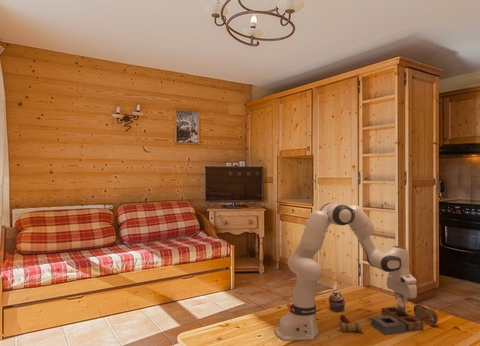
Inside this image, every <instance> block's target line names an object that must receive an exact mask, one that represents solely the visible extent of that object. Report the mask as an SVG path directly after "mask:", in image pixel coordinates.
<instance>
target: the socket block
mask: <svg viewBox="0 0 480 346" xmlns="http://www.w3.org/2000/svg"><path fill="white" fill-rule="evenodd" d="M370 325H371V326H372V327H373V328H375V329H376V330H378V331H379V332H381V333H382V334H383V335H395V334H401V333H406V332H407V331H406V324H404V323H403V322H401V321H399V320H398V319H396V318H394V317H393V316H391V315H387V316H382V315H380V316H372V317H370Z"/></svg>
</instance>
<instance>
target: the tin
mask: <svg viewBox="0 0 480 346" xmlns="http://www.w3.org/2000/svg"><path fill="white" fill-rule="evenodd" d="M413 314H414V317H415V318H417V319H418V320H420V321H422V322H423V324H426V325H428V326H434V325H437V324H438V319H439V318H438V314H437V312H436V311H435V310H434V309H432V308H431V307H428V306H426V305H425V304H421V303H420V304H415V305H414V307H413Z"/></svg>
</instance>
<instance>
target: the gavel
mask: <svg viewBox="0 0 480 346" xmlns="http://www.w3.org/2000/svg"><path fill="white" fill-rule="evenodd" d="M340 319H341V322H340V323H339V329H340V332H342V333H346V332H352V333H353V332H355V333H356V332H357V333H361V332H362V330H363V329H362V324H361V322H350V320H349V319H348V318H347V317H346V316H345V315H344V314H340Z"/></svg>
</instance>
